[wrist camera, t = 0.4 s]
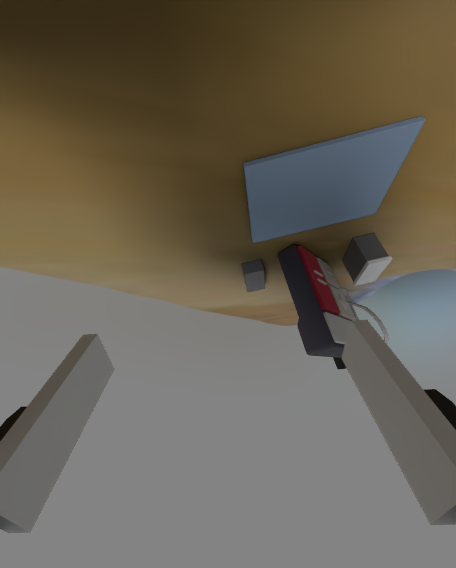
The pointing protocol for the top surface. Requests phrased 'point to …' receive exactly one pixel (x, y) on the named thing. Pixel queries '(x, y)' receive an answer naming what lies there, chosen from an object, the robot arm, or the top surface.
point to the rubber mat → (325, 180)
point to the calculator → (316, 302)
